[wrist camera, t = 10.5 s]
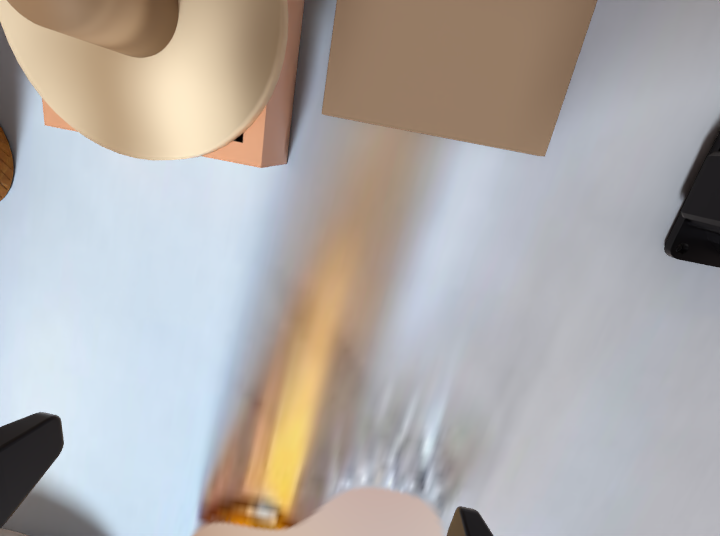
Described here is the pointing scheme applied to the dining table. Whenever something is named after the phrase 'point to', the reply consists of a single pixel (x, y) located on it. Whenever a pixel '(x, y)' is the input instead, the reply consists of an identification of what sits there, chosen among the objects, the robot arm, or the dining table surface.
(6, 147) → the disposable coffee cup
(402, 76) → the mat
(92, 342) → the dining table surface
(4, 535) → the lumpy-topped squat cylinder
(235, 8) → the lid
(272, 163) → the dish
